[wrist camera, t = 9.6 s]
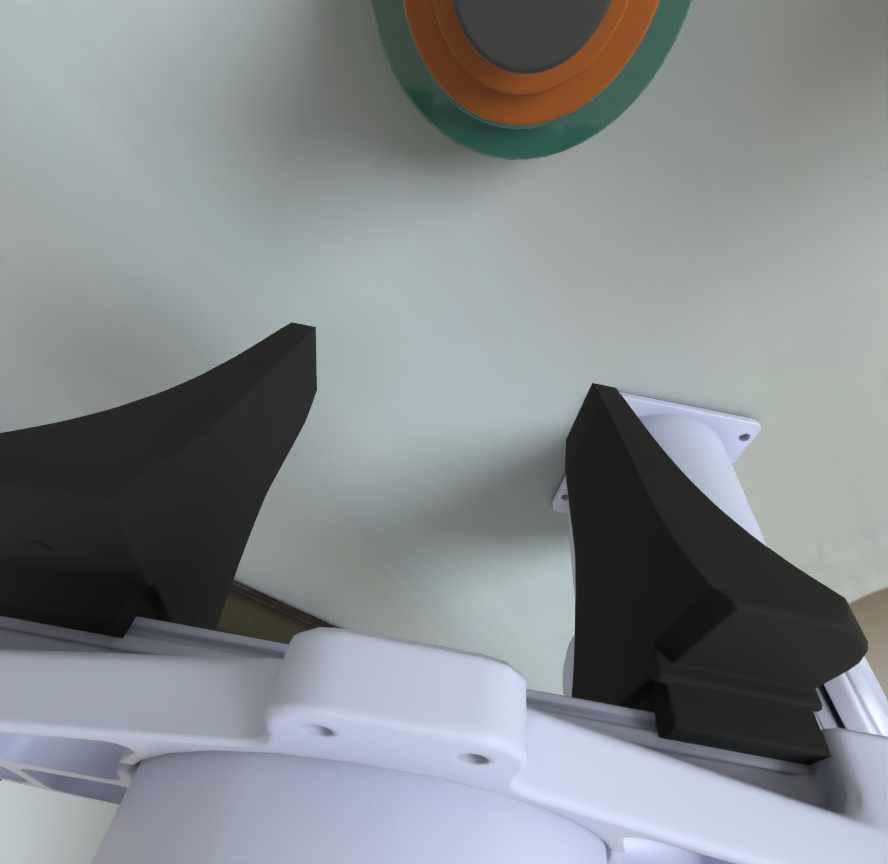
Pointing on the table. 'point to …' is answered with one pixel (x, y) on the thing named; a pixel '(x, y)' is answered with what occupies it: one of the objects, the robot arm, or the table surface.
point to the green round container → (523, 138)
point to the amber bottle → (526, 51)
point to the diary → (262, 617)
